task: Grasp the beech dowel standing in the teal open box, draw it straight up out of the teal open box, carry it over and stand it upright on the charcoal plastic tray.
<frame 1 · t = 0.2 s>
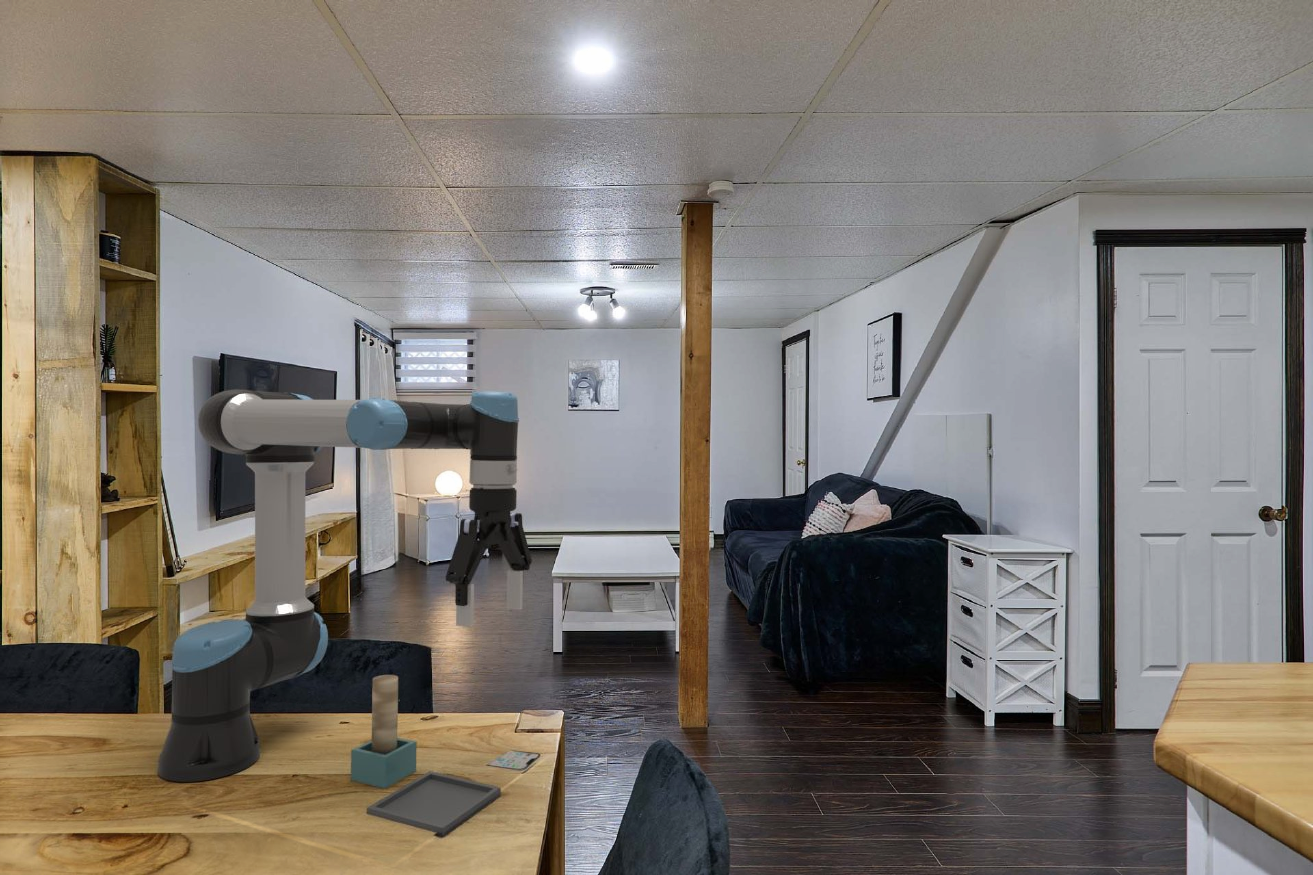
hand: (490, 617, 124), 27 cm above the table, fingers open, 13 cm apart
smartphone: (494, 763, 134), on the table
dowel: (383, 775, 126), point 1 cm above the table, touching teal open box
teal open box: (383, 778, 126), on the table
tray: (435, 806, 117), on the table
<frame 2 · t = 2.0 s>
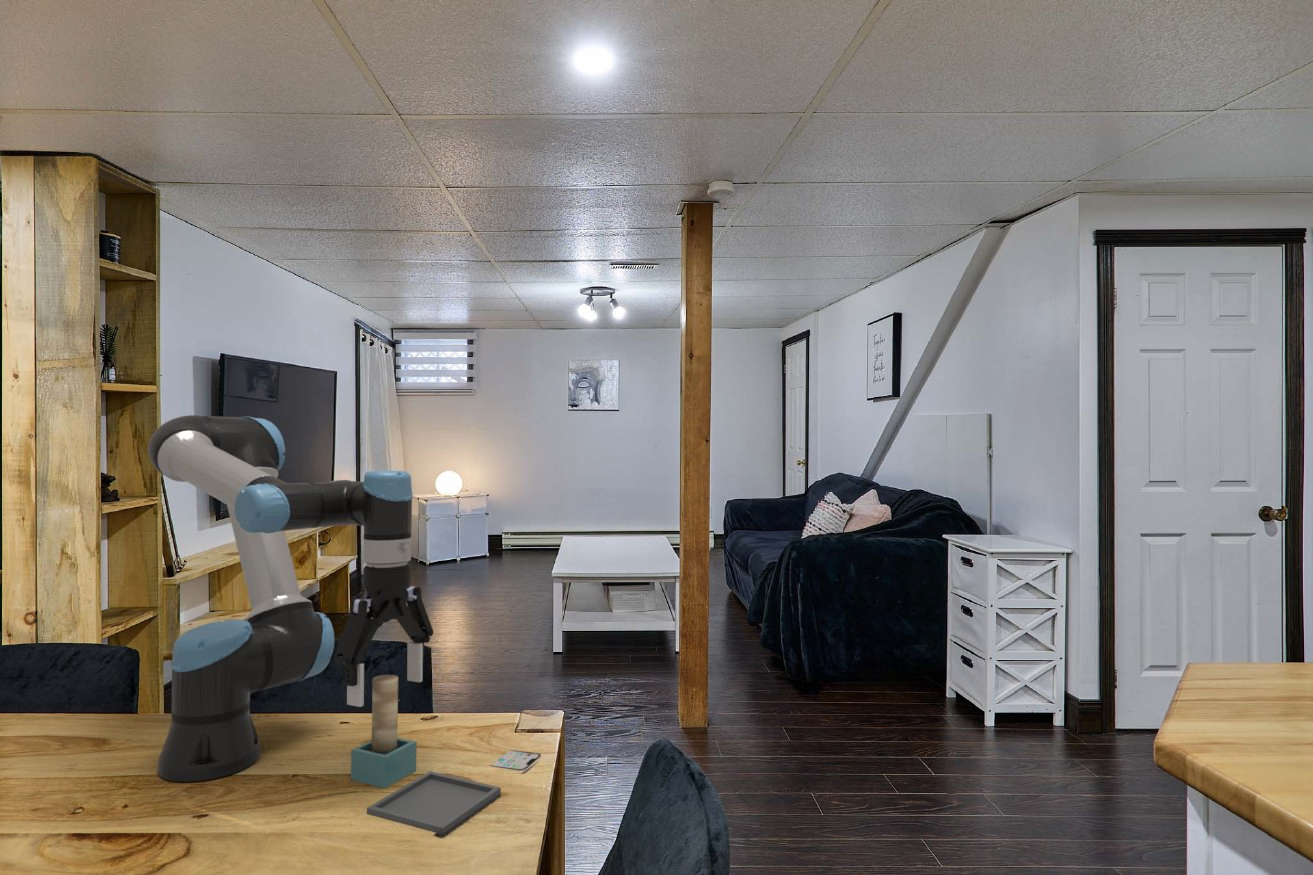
hand: (386, 692, 126), 14 cm above the table, fingers open, 13 cm apart
nothing on the table moved.
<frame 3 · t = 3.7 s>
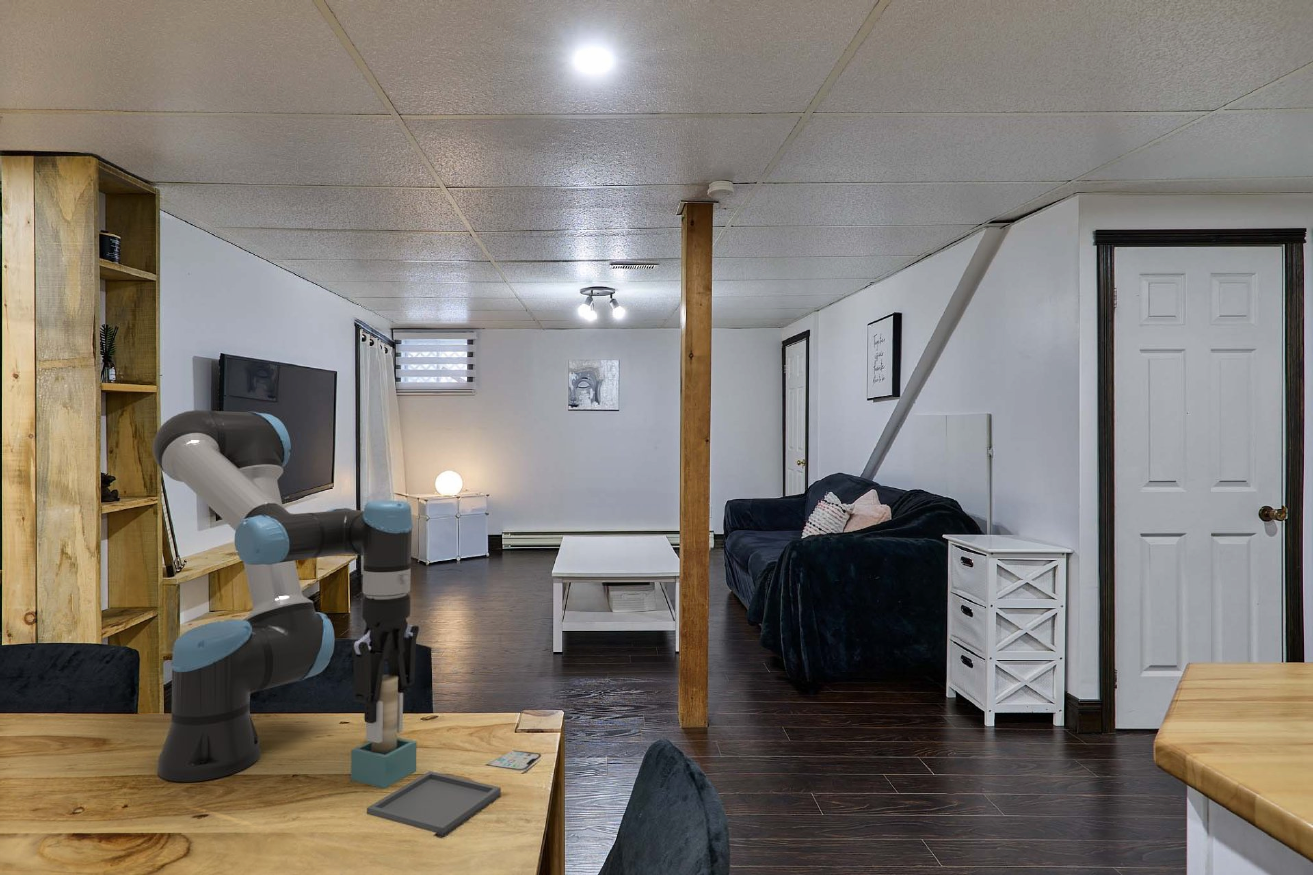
hand: (384, 735, 126), 7 cm above the table, fingers closed on dowel, 4 cm apart
dowel: (383, 775, 126), point 1 cm above the table, touching teal open box, gripper
everything else where it was.
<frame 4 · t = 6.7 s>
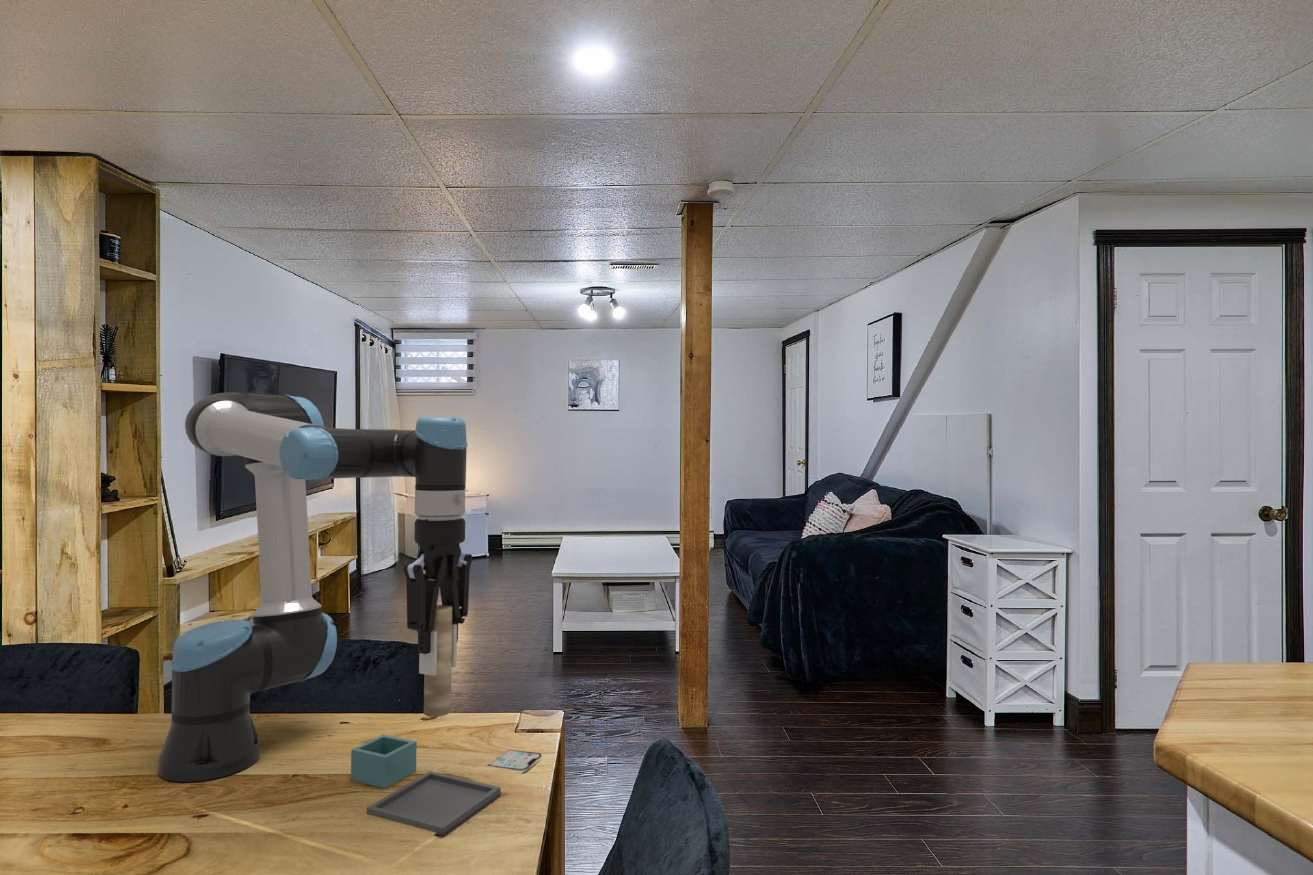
hand: (438, 669, 117), 21 cm above the table, fingers closed on dowel, 4 cm apart
dowel: (437, 712, 117), point 14 cm above the table, touching gripper
everything else where it was.
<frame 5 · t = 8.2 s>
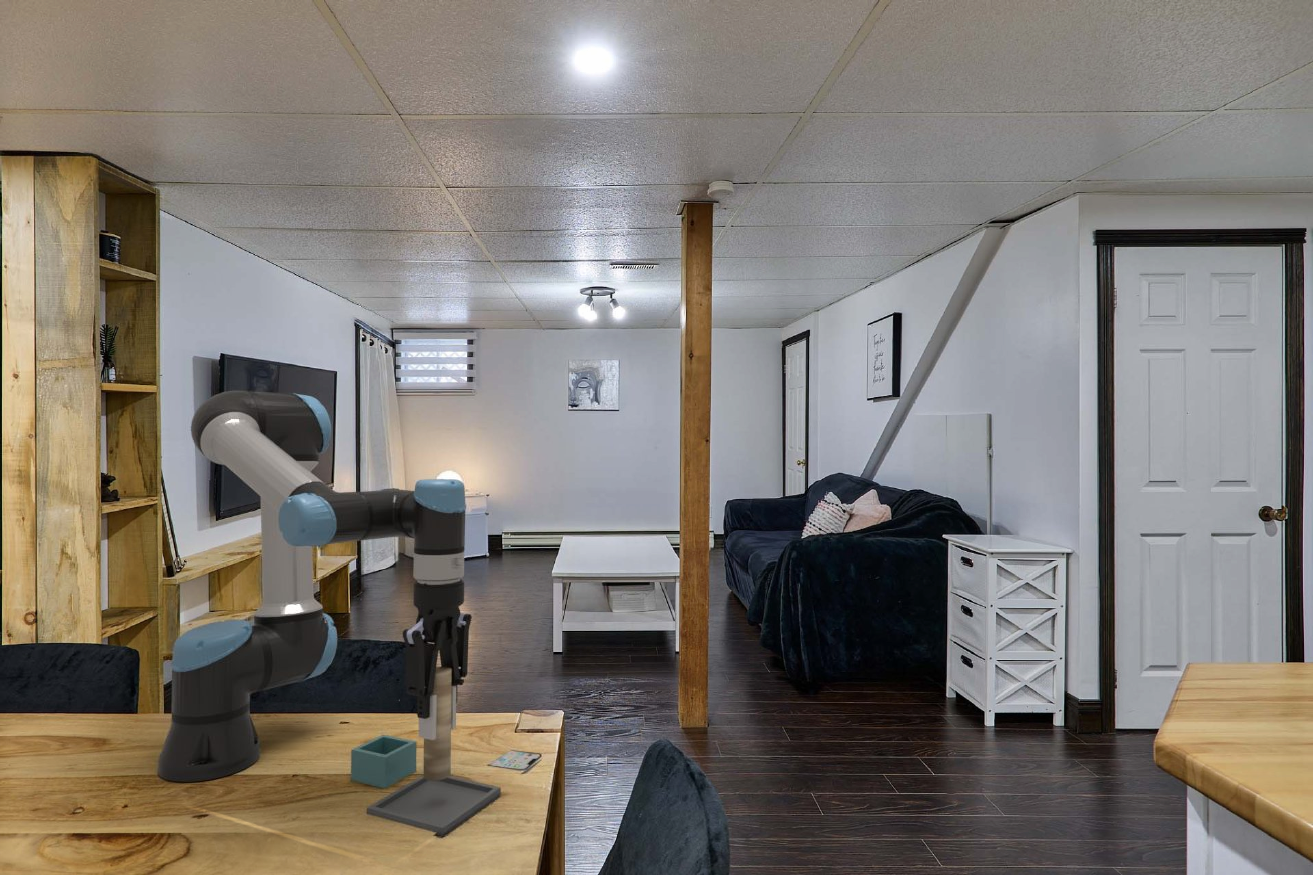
hand: (437, 732, 117), 11 cm above the table, fingers closed on dowel, 4 cm apart
dowel: (437, 775, 117), point 5 cm above the table, touching gripper
everything else where it was.
when the fingers open (8 cm above the table, at t = 9.5 s): dowel stays where it is, resting on tray.
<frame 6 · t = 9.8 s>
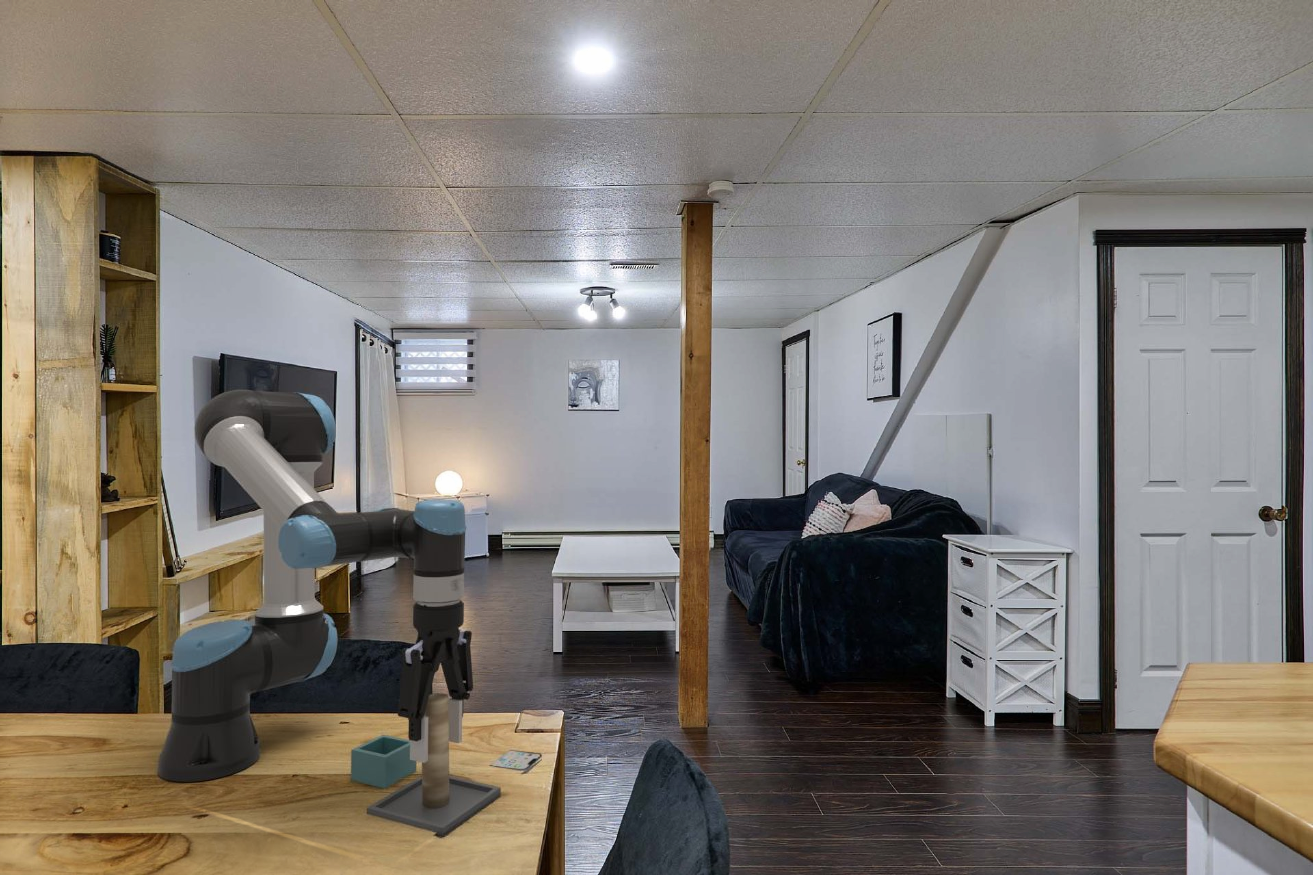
hand: (436, 750, 117), 9 cm above the table, fingers open, 7 cm apart
dowel: (436, 802, 117), point 1 cm above the table, touching tray
everything else where it was.
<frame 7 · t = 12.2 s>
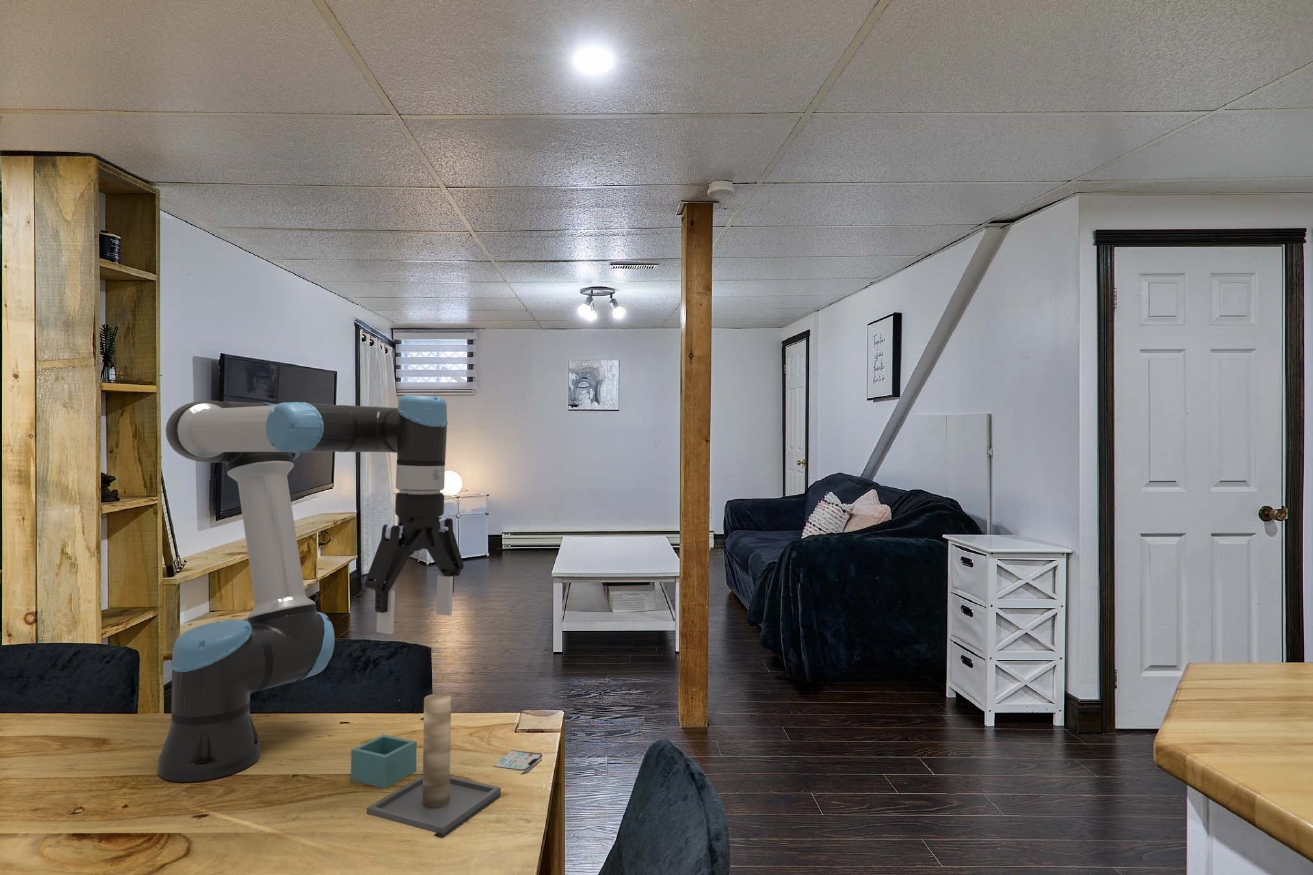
hand: (415, 623, 123), 27 cm above the table, fingers open, 13 cm apart
nothing on the table moved.
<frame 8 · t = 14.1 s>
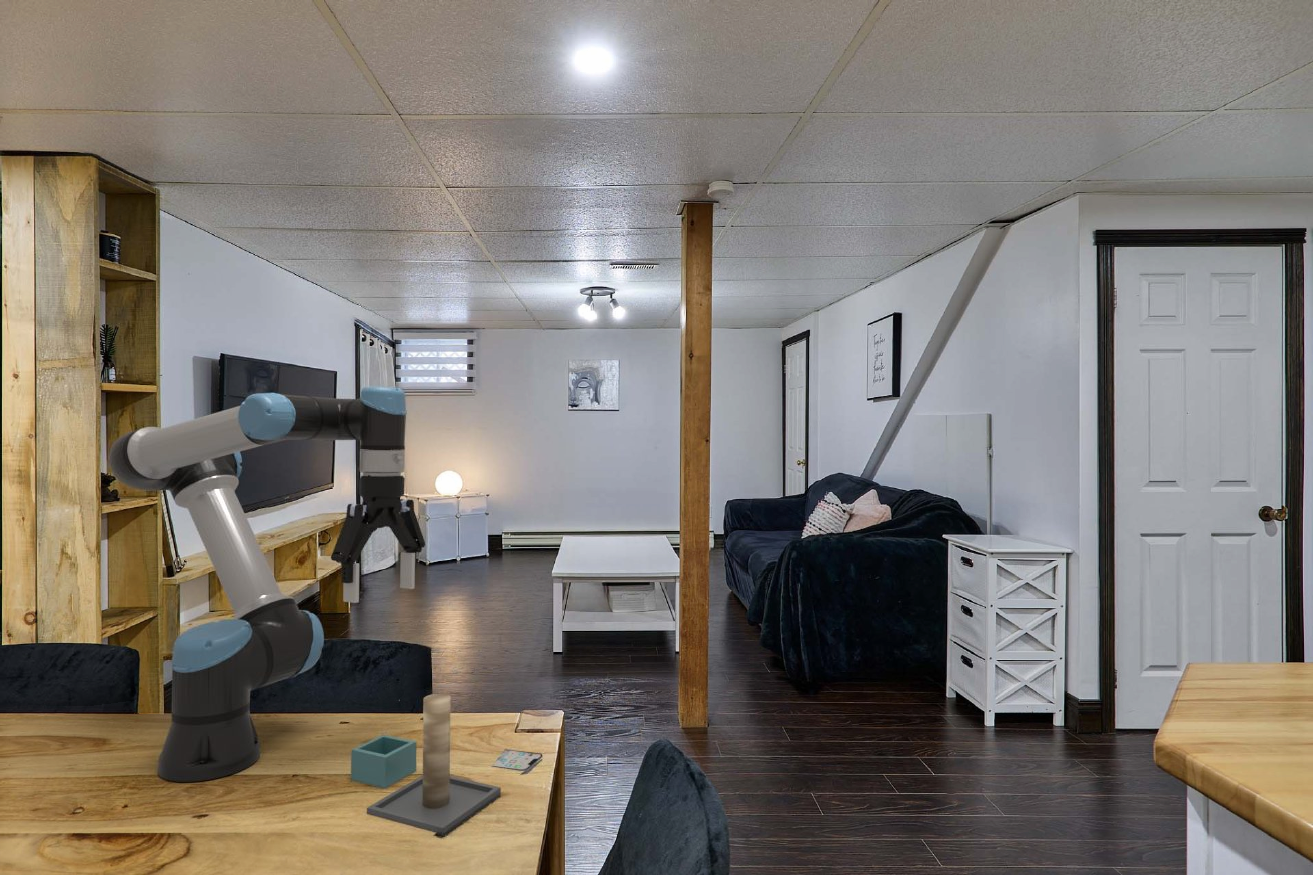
hand: (380, 594, 135), 29 cm above the table, fingers open, 13 cm apart
nothing on the table moved.
at the end: dowel inside the target area on the tray (0.1 cm from its centre), point 0.6 cm above the tray's base; dowel tilted 0°; the gripper is holding nothing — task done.
